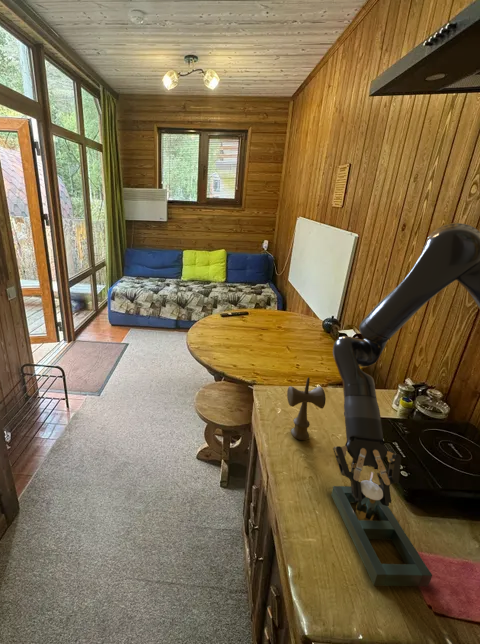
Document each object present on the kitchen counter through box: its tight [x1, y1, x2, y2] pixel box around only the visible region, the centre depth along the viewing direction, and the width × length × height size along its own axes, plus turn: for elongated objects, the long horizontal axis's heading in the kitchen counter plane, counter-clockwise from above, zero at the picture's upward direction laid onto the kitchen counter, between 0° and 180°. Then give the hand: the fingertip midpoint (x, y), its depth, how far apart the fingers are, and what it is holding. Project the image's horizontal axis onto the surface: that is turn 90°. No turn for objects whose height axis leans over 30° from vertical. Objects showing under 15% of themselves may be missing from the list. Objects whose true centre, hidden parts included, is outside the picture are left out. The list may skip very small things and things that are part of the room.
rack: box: [330, 485, 433, 587], centre depth 64 cm, size 10×18×3 cm, turn 0°
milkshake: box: [355, 471, 383, 521], centre depth 67 cm, size 4×5×10 cm
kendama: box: [286, 376, 327, 441], centre depth 89 cm, size 6×10×20 cm, turn 88°
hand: (371, 502), depth 65 cm, fingers closed on milkshake, 4 cm apart
